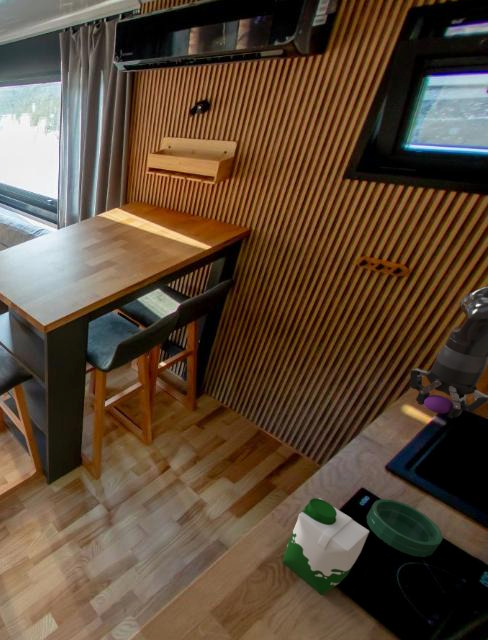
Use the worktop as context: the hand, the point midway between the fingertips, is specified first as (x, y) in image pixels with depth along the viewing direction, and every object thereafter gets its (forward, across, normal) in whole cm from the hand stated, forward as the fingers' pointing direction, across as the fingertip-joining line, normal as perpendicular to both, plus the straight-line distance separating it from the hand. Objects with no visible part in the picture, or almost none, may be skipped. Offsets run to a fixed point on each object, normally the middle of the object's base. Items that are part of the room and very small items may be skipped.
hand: (435, 409), depth 101 cm
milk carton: (+7, -11, +66) cm, 68 cm away
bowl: (+7, -14, +42) cm, 44 cm away
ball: (-2, 0, 0) cm, 2 cm away
